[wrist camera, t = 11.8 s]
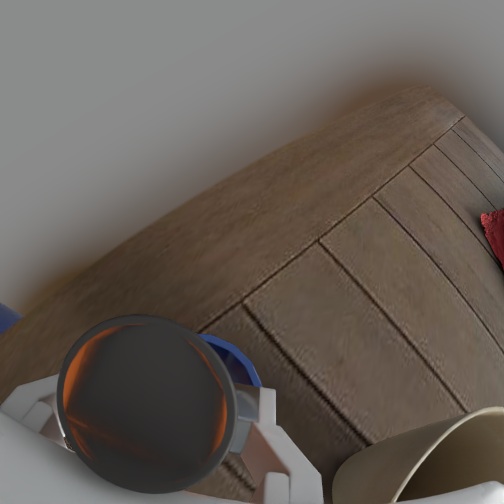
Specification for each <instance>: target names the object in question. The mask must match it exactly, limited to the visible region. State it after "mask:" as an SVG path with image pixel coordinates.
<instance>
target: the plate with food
mask: <svg viewBox="0 0 504 504" xmlns="http://www.w3.org/2000/svg"><path fill="white" fill-rule="evenodd" d="M489 213H490V212H489ZM481 221H482V226H483V227H485V231H486V232H485V233H484V234H485V236H486V237H487V239H488V241H489V243H490V245H491V247H492V250H493V251H494V254H495V255H496V258H497V257H498V259H499V260H500V261H501V264H502V267H503V270H504V209H502V210H500V211H494V212H491V213H490V217H489V216H488V215H487V214H485V213H484V214H482V215H481Z"/></svg>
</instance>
